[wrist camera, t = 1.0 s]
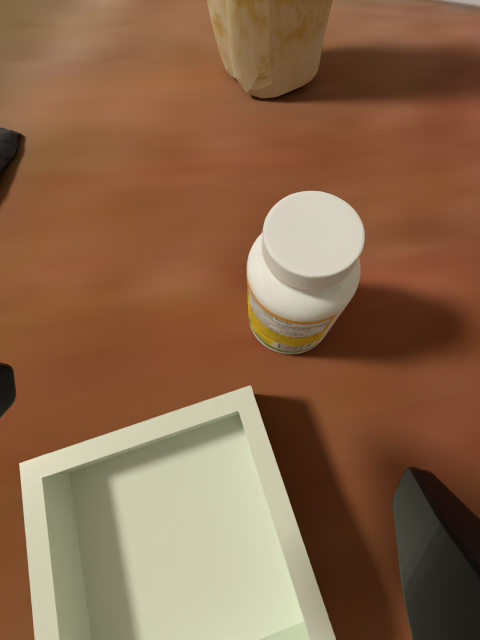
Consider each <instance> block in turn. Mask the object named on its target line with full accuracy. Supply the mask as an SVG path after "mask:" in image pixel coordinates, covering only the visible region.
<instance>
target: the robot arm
mask: <svg viewBox="0 0 480 640" xmlns="http://www.w3.org/2000/svg"><path fill="white" fill-rule="evenodd" d="M15 398H16V388H15V379H14V371H13V368H12V367H11V366H10V365H8V364H5V363H1V362H0V418H1V417H2V415H3V414H4V413H5V412H6V411H7V410H8V409H9V408H10V407H11V405H12V404H13V402H14V401H15ZM393 515H394V524H395V532H396V541H397V550H398V559H399V568H400V576H401V584H402V591H403V596H404V601H405V607H406V611H407V616H408V621H409V626H410V630H411V635H412V640H480V519H479V518H478V517H477V516H476V515H475V514H474V513H473V512H472V511H471V510H470V509H469V508H468V507H467V506H465V505H464V504H463V503H462V502H461V501H460V500H459V499H458V498H457V497H456V496H455V495H454V494H453V493H452V492H451V491H450V490H449V489H448V488H447V487H446V486H445V485H444V484H443V483H442V482H441V481H440V480H439V479H438V478H437V477H436V476H435V475H434V474H432V473H431V472H429V471H427V470H423V469H419V468H415V467H409V468H407V469H406V470H405V472H404V474H403V476H402V478H401V480H400V483H399V485H398V487H397V489H396V491H395V494H394V497H393Z"/></svg>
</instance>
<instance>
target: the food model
mask: <svg viewBox="0 0 480 640" xmlns="http://www.w3.org/2000/svg"><path fill="white" fill-rule="evenodd" d="M207 1H208V7H209V13H210V18H211V22H212V26H213V30H214V34H215V38H216V41H217V45H218V49H219V52H220V55H221V58H222V61H223V64H224V67H225V69H226V71H227V72H228V73H229V74H230V76H232V77H234V78H235V79H236V80H237V81H238V82H239V84H240V85H241V86H242V87H243V89H244V90H245V91H246V93H248V94H251V95H254V96H257V97H259V98H272V97H278V96H280V95H283V94H285V93H288V92H290V91H292V90H295V89H297V88H299V87H302V86H304V85H305V84H307V83H308V82H310V81H311V80H312V79H313V78H314V76H315V75H316V73H317V71H318V68H319V64H320V57H321V49H322V43H323V38H324V34H325V30H326V25H327V21H328V17H329V13H330V9H331V5H332V0H207Z"/></svg>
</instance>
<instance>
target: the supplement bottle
mask: <svg viewBox="0 0 480 640" xmlns="http://www.w3.org/2000/svg"><path fill="white" fill-rule="evenodd" d="M364 241H365V232H364V227H363V224H362V221H361V219H360V217H359V216H358V214H357V213H356V211H355V210H354V209H353V208H352V207H351V206H350V205H349V204H348V203H346V202H345V201H343V200H342V199H340V198H338V197H336V196H334V195H331V194H328V193H324V192H320V191H304V192H298V193H294V194H292V195H289V196H287V197H285V198H283V199H282V200H280V201H279V202H278V203H277V204H276V205H275V206H274V207H273V208H272V209H271V210H270V212H269V213H268V215H267V217H266V219H265V222H264V226H263V233H262V234H261V235H260V236H259V237H258V238H257V240H256V241H255V243H254V244H253V246H252V248H251V250H250V253H249V257H248V262H247V288H248V312H249V322H250V326H251V329H252V331H253V333H254V335H255V336H256V338H257V339H258V340H259V341H260V342H261V343H262V344H263V345H264V346H266V347H267V348H269V349H271V350H273V351H276V352H279V353H283V354H298V353H303V352H305V351H308V350H310V349H312V348H314V347H315V346H316V345H317V344H319V343H320V342H321V341H322V339H323V338H324V337H325V335H326V334H327V333H328V331H329V330H330V328H331V327H332V325H333V324H334V323H335V321H336V320H337V318H338V317H339V316H340V314H341V313H342V311H343V310H344V309H345V307H346V306H347V305H348V303H349V302H350V300H351V299H352V297H353V296H354V294H355V292H356V290H357V287H358V284H359V280H360V261H359V257H360V255H361V252H362V250H363V246H364Z"/></svg>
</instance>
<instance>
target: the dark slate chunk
mask: <svg viewBox="0 0 480 640" xmlns="http://www.w3.org/2000/svg"><path fill="white" fill-rule="evenodd" d="M21 136H22V134H20V133H18V132H15V131H12V130H7V129H5V128H0V172H1V171H2V169H3V168H4V167H5V166H6V164H7V163H8V162H9V161H10V160H11V159H12V158H13V157H14V156H15V150H16V149H17V148H18V139H19V138H20V137H21Z"/></svg>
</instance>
